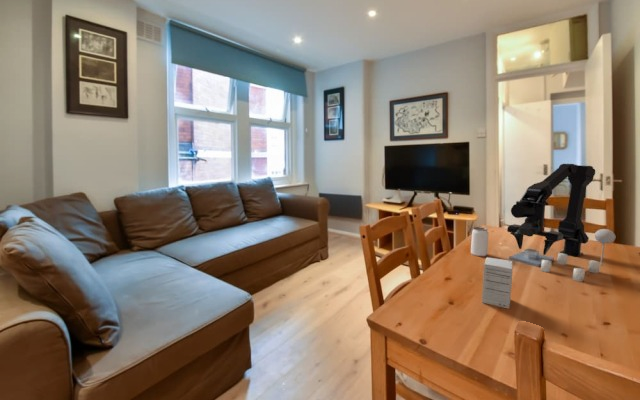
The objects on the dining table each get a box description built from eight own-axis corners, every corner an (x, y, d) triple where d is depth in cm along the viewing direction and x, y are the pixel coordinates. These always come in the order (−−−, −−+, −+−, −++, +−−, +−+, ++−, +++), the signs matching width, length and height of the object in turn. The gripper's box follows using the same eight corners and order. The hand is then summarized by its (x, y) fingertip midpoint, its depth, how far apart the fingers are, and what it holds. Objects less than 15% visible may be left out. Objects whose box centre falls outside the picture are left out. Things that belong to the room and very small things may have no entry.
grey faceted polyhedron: (528, 254, 128) (529, 248, 128) (540, 257, 125) (540, 250, 124) (522, 256, 126) (522, 250, 125) (534, 259, 122) (534, 253, 122)
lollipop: (607, 263, 119) (612, 228, 117) (614, 268, 114) (619, 231, 112) (588, 261, 122) (592, 226, 120) (593, 266, 117) (598, 230, 114)
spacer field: (559, 261, 122) (560, 252, 122) (600, 272, 111) (601, 262, 110) (539, 270, 114) (540, 260, 113) (581, 282, 103) (582, 271, 102)
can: (489, 257, 129) (490, 230, 127) (473, 256, 131) (474, 230, 129) (483, 252, 136) (485, 227, 134) (468, 251, 137) (470, 226, 135)
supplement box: (483, 293, 96) (486, 256, 94) (510, 299, 92) (513, 260, 90) (480, 302, 90) (483, 263, 88) (509, 309, 86) (513, 268, 84)
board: (525, 253, 133) (525, 250, 133) (553, 260, 124) (554, 257, 124) (508, 258, 127) (509, 256, 126) (537, 266, 117) (538, 264, 117)
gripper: (501, 214, 126) (499, 249, 129) (552, 222, 110) (548, 262, 113) (515, 211, 132) (512, 245, 134) (565, 219, 116) (561, 256, 118)
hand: (531, 251), depth 125 cm, fingers open, 9 cm apart
